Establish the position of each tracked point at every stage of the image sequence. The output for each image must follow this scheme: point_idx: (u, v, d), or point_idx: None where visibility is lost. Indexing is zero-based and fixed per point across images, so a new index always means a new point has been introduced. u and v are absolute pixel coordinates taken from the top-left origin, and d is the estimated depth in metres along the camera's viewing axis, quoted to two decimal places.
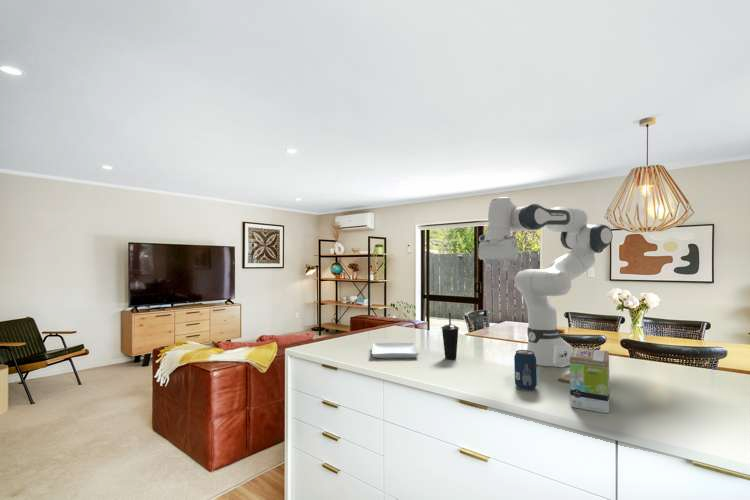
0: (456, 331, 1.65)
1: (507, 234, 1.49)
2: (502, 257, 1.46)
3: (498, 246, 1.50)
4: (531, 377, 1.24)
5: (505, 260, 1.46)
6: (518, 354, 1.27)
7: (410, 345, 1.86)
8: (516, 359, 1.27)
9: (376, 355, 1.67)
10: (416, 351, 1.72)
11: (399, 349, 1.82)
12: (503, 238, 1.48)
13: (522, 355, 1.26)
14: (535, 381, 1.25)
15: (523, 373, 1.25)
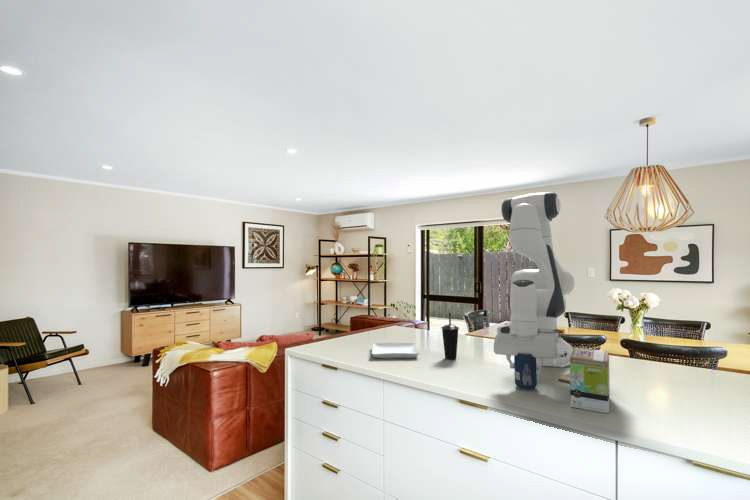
0: (456, 331, 1.65)
1: None
2: (541, 356, 1.24)
3: (531, 342, 1.26)
4: (531, 377, 1.24)
5: (543, 359, 1.25)
6: (518, 354, 1.27)
7: (410, 345, 1.86)
8: (516, 359, 1.27)
9: (376, 355, 1.67)
10: (416, 351, 1.72)
11: (399, 349, 1.82)
12: (537, 332, 1.26)
13: (522, 355, 1.26)
14: (535, 381, 1.25)
15: (523, 373, 1.25)
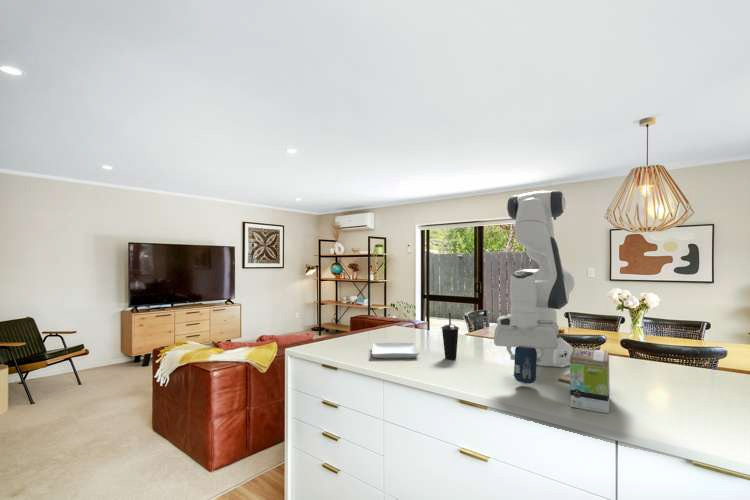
0: (456, 331, 1.65)
1: None
2: (542, 347, 1.25)
3: (531, 333, 1.26)
4: (530, 371, 1.25)
5: (543, 350, 1.25)
6: (519, 347, 1.27)
7: (410, 345, 1.86)
8: (517, 352, 1.27)
9: (376, 355, 1.67)
10: (416, 351, 1.72)
11: (399, 349, 1.82)
12: (537, 323, 1.26)
13: (523, 349, 1.26)
14: (534, 375, 1.26)
15: (523, 367, 1.25)
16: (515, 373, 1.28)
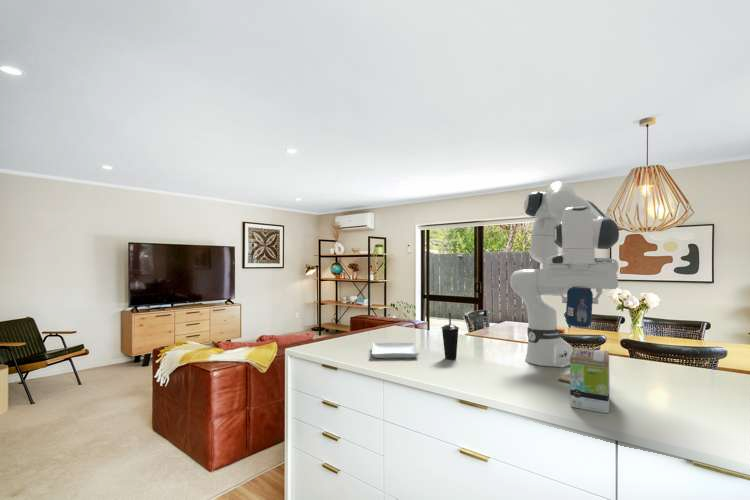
0: (456, 331, 1.65)
1: None
2: (599, 287, 1.12)
3: (587, 272, 1.14)
4: (586, 313, 1.13)
5: (600, 290, 1.13)
6: (573, 288, 1.15)
7: (410, 345, 1.86)
8: (570, 294, 1.15)
9: (376, 355, 1.67)
10: (416, 351, 1.72)
11: (399, 349, 1.82)
12: (594, 261, 1.14)
13: (578, 289, 1.14)
14: (590, 318, 1.13)
15: (578, 309, 1.13)
16: (568, 317, 1.16)
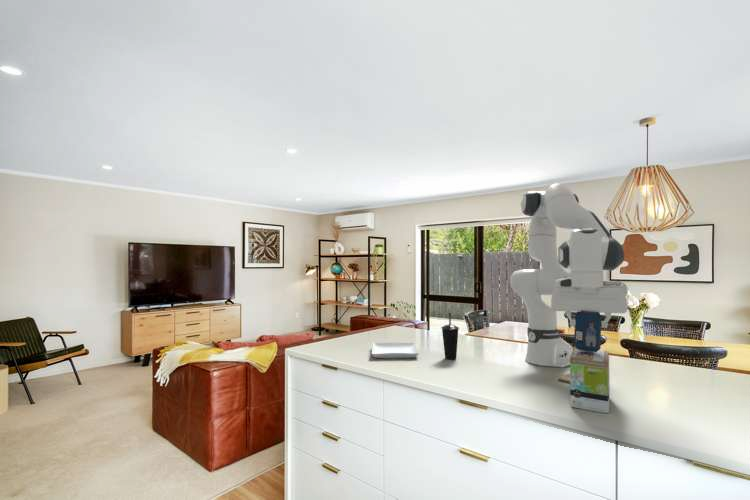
0: (456, 331, 1.65)
1: None
2: (608, 311, 1.11)
3: (596, 295, 1.12)
4: (595, 337, 1.11)
5: (609, 314, 1.11)
6: (582, 312, 1.13)
7: (410, 345, 1.86)
8: (579, 317, 1.14)
9: (376, 355, 1.67)
10: (416, 351, 1.72)
11: (399, 349, 1.82)
12: (603, 285, 1.12)
13: (587, 313, 1.12)
14: (599, 343, 1.12)
15: (587, 333, 1.12)
16: (576, 341, 1.14)
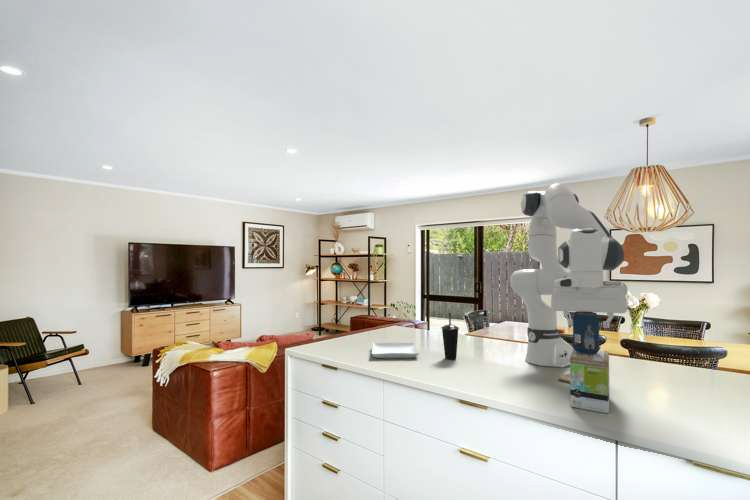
0: (456, 331, 1.65)
1: None
2: (608, 311, 1.11)
3: (596, 295, 1.12)
4: (594, 340, 1.11)
5: (612, 314, 1.11)
6: (579, 315, 1.14)
7: (410, 345, 1.86)
8: (576, 320, 1.14)
9: (376, 355, 1.67)
10: (416, 351, 1.72)
11: (399, 349, 1.82)
12: (603, 284, 1.12)
13: (584, 315, 1.12)
14: (598, 344, 1.12)
15: (585, 336, 1.12)
16: (575, 344, 1.14)
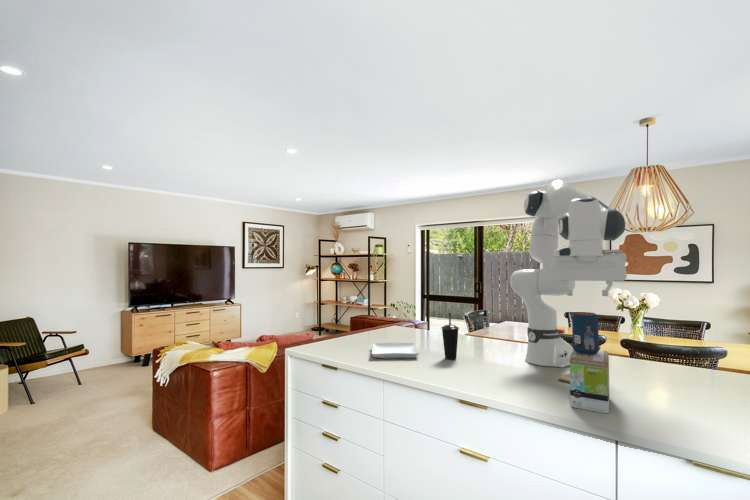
0: (456, 331, 1.65)
1: None
2: (607, 279, 1.11)
3: (595, 264, 1.13)
4: (593, 340, 1.11)
5: (610, 282, 1.11)
6: (578, 315, 1.14)
7: (410, 345, 1.86)
8: (575, 321, 1.14)
9: (376, 355, 1.67)
10: (416, 351, 1.72)
11: (399, 349, 1.82)
12: (602, 253, 1.12)
13: (583, 316, 1.13)
14: (598, 345, 1.12)
15: (585, 336, 1.12)
16: (575, 345, 1.14)
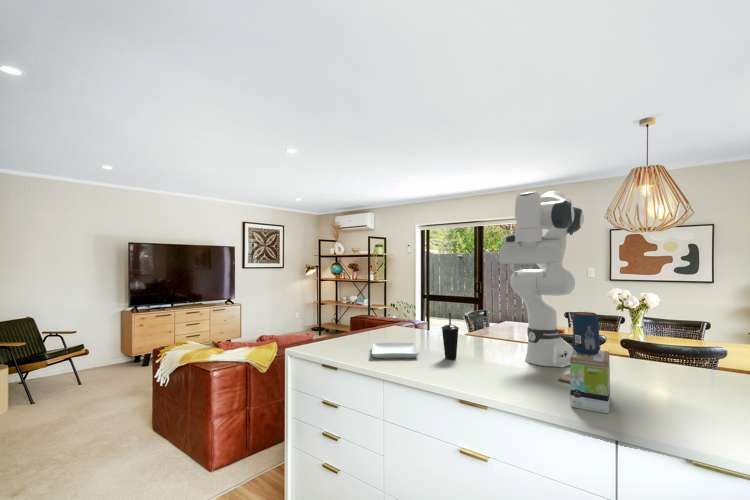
0: (456, 331, 1.65)
1: None
2: (546, 261, 1.29)
3: (536, 249, 1.30)
4: (594, 340, 1.11)
5: (549, 265, 1.29)
6: (578, 315, 1.14)
7: (410, 345, 1.86)
8: (576, 321, 1.14)
9: (376, 355, 1.67)
10: (416, 351, 1.72)
11: (399, 349, 1.82)
12: (542, 239, 1.30)
13: (584, 316, 1.12)
14: (598, 345, 1.12)
15: (585, 336, 1.12)
16: (575, 345, 1.14)
